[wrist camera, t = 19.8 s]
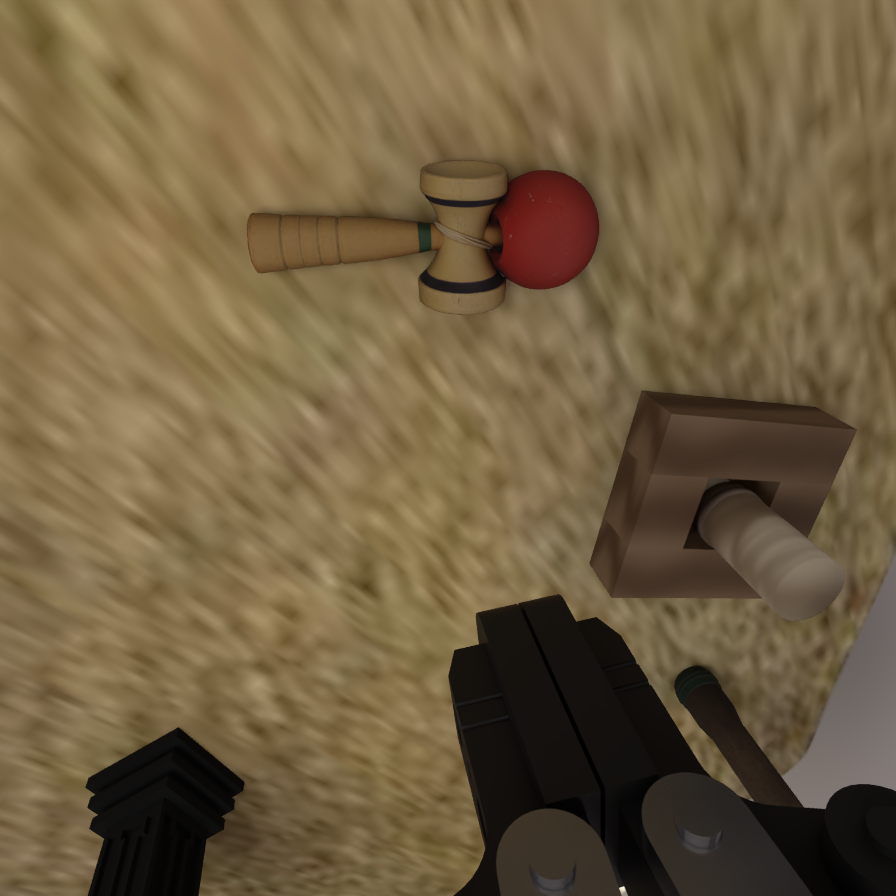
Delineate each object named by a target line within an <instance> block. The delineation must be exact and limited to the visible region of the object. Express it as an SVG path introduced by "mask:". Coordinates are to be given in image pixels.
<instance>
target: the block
mask: <svg viewBox="0 0 896 896" xmlns="http://www.w3.org/2000/svg"><path fill="white" fill-rule="evenodd" d="M856 431H857V429H855V428H853V427H851V426H849V425H847V424H846V423H844V422H842V421H840V420H838V419H836V418H834V417H833V416H831V415H829V414H827V413H825V412H823V411H821V410H820V409H818V408H816V407H808V406H797V405H787V404H776V403H765V402H755V401H744V400H733V399H723V398H712V397H701V396H691V395H680V394H669V393H659V392H648V391H642V392H641V395H640V398H639V402H638V405H637V408H636V412H635V415H634V418H633V422H632V425H631V428H630V432H629V435H628V438H627V442H626V445H625V448H624V451H623V455H622V458H621V461H620V465H619V468H618V471H617V475H616V478H615V481H614V485H613V488H612V491H611V495H610V498H609V501H608V504H607V508H606V511H605V514H604V518H603V521H602V524H601V528H600V531H599V534H598V538H597V541H596V544H595V547H594V551H593V554H592V557H591V561H590V565H591V567H592V568H593V570H594V571H595V573H596V574H597V576H598V578H599V579H600V581H601V582H602V584H603V585H604V587H605V588H606V590H607V591H608V593H609V594H610V596H611V597H612V598H762V597H761V596H760V595H759V594H758V593H757V592H756V591H755V590H754V589H753V588H752V587H751V586H750V585H749V584H748V583H747V582H746V581H745V580H744V579H743V578H742V577H741V576H740V575H739V574H738V573H737V572H736V571H735V570H734V569H733V568H732V567H731V565H730V564H729V563H728V562H727V561H726V560H725V559H724V558H723V557H722V556H721V555H720V554H719V553H718V552H717V551H716V550H715V549H714V548H713V547H711V546H709V545H708V544H707V543H706V542H705V541H704V540H703V539H702V538H701V537H700V535H699V533H698V532H697V531H696V529H695V528H694V526H693V524H692V522H693V520H694V517H695V514H696V511H697V509H698V506H699V503H700V501H701V498H702V495H703V492H704V490H705V487H706V484H707V482H708V479H709V478H722V479H736V481H735V482H736V483H739V484H741V485H742V486H744V487H745V488H747V489H750V490H751V491H752V492H754V493H755V494H756V495H757V496H759V497H760V499H761V500H762V501H763V503H765V504H766V505H767V506H768V507H770V508H771V509H772V510H773V511H774V512H776V513H777V514H778V515H779V516H781V517H782V518H783V519H784V520H786V521H787V522H788V523H789V524H790V525H792V526H793V527H794V528H795V529H797V530H798V531H799V532H800V533H801V534H803V535H804V536H805V537H806V538H808V535H809V533H810V531H811V529H812V527H813V524H814V522H815V520H816V518H817V516H818V514H819V511H820V509H821V507H822V505H823V503H824V501H825V498H826V496H827V494H828V492H829V490H830V488H831V485H832V483H833V481H834V479H835V477H836V474H837V472H838V470H839V468H840V466H841V464H842V461H843V459H844V457H845V455H846V453H847V451H848V448H849V446H850V444H851V442H852V440H853V438H854V435H855V433H856Z"/></svg>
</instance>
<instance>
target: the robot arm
mask: <svg viewBox="0 0 896 896" xmlns="http://www.w3.org/2000/svg"><path fill="white" fill-rule="evenodd" d="M476 623H477V632H478V640H479V645H474V646H470V647H466V648H461V649H457V650H454V654H453V659H452V663H451V667H450V671H449V676H448V677H449V683H450V690H451V696H452V703H453V709H454V716H455V722H456V729H457V735H458V740H459V744H460V748H461V752H462V756H463V760H464V764H465V767H466V772H467V776H468V780H469V784H470V788H471V792H472V796H473V801H474V805H475V809H476V813H477V817H478V821H479V825H480V829H481V833H482V837H483V841H484V845H485V852H484V855H483V859H482V861H481V863H480V865H479V867H478V869H477V871H476V872H475V874H474V876H473V877H472V878H471V880H470V881H469V882H468V883H467V884H466V885H465V886H464V887H463V888H462V889H461V890H460V891H459V892H457V893H456V894H455V895H454V896H621V893H620V890H619V888H620V887H623V886H624V887H625V889H626V892H627V894H628V896H896V791H894V790H892V789H888V788H885V787H881V786H876V785H870V784H857V785H850V786H847V787H844V788H842V789H840V790H839V791H837V792H836V793H834V795H833V796H832V797H831V798H830V800H829V802H828V804H827V806H826V809H817V808H816V809H815V808H803V807H789V806H776V805H767V804H761V803H757V802H754V801H750V800H748V799H745V798H742V797H740V796H738V795H737V794H736V793H735V792H734V791H732V790H731V789H730V788H728V787H727V786H726V785H724V784H723V783H721V782H719V781H717V780H715V779H713V778H712V777H711V776H710V775H709V774H708V773H707V772H706V771H705V770H704V769H703V767H702V766H701V764H700V763H699V762H698V760H697V758H696V757H695V755H694V754H693V752H692V750H691V749H690V747H689V745H688V744H687V742H686V741H685V739H684V737H683V736H682V734H681V733H680V731H679V729H678V728H677V726H676V724H675V723H674V721H673V720H672V718H671V716H670V715H669V713H668V711H667V710H666V708H665V707H664V705H663V703H662V702H661V700H660V698H659V697H658V695H657V694H656V692H655V690H654V689H653V687H652V686H651V685H649V683H648V679H647V677H646V676H645V674H644V673H643V671H642V669H641V668H640V666H639V664H638V665H637V664H636V660H635V658H634V656H633V655H632V653H631V652H630V650H629V648H628V647H627V645H626V643H625V642H624V640H623V639H622V637H621V635H619V634H618V633H617V632H615V631H614V630H613V629H611V628H610V627H609V626H607V625H606V624H605V623H603V622H602V621H601V620H599V619H598V618H597V617H595V618H590V619H586V620H582V621H577V622H576V621H575V619H574V617H573V615H572V613H571V611H570V610H569V608H568V606H567V604H566V602H565V601H564V599H563V597H562V596H561V595H559V594H557V595H553V596H548V597H544V598H539V599H535V600H530V601H526V602H521V603H519V604H518V605H517V604H513V605H509V606H505V607H500V608H496V609H491V610H487V611H482V612H478V613H476Z"/></svg>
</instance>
